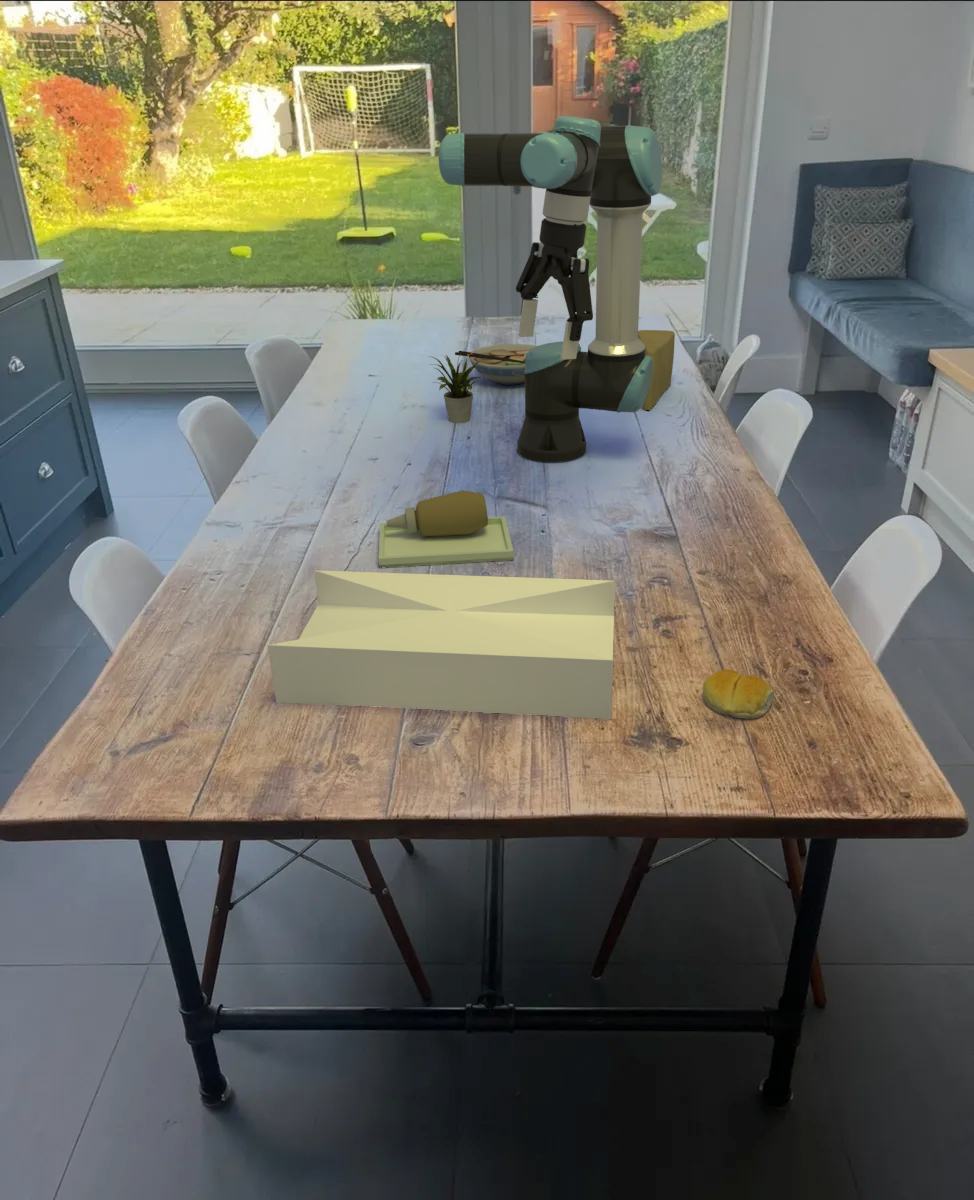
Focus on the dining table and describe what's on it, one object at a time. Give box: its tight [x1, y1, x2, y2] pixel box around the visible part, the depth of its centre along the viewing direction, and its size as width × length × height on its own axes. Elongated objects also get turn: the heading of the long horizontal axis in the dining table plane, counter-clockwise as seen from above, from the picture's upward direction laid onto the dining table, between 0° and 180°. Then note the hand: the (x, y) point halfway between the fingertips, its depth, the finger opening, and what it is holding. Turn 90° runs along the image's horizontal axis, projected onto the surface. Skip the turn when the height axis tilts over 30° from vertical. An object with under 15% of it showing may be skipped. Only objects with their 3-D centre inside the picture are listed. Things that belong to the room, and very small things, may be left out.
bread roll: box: [702, 668, 775, 720], centre depth 131 cm, size 8×9×4 cm
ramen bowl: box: [454, 343, 538, 386], centre depth 266 cm, size 25×23×8 cm
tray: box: [378, 515, 515, 568], centre depth 177 cm, size 23×15×2 cm, turn 95°
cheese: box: [638, 329, 676, 411], centre depth 248 cm, size 22×10×15 cm, turn 168°
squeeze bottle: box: [385, 489, 489, 537], centre depth 179 cm, size 8×8×18 cm
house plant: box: [428, 353, 484, 424], centre depth 236 cm, size 14×14×16 cm
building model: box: [267, 569, 616, 720], centre depth 140 cm, size 45×22×10 cm, turn 83°
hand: (546, 347), depth 175 cm, fingers open, 13 cm apart
